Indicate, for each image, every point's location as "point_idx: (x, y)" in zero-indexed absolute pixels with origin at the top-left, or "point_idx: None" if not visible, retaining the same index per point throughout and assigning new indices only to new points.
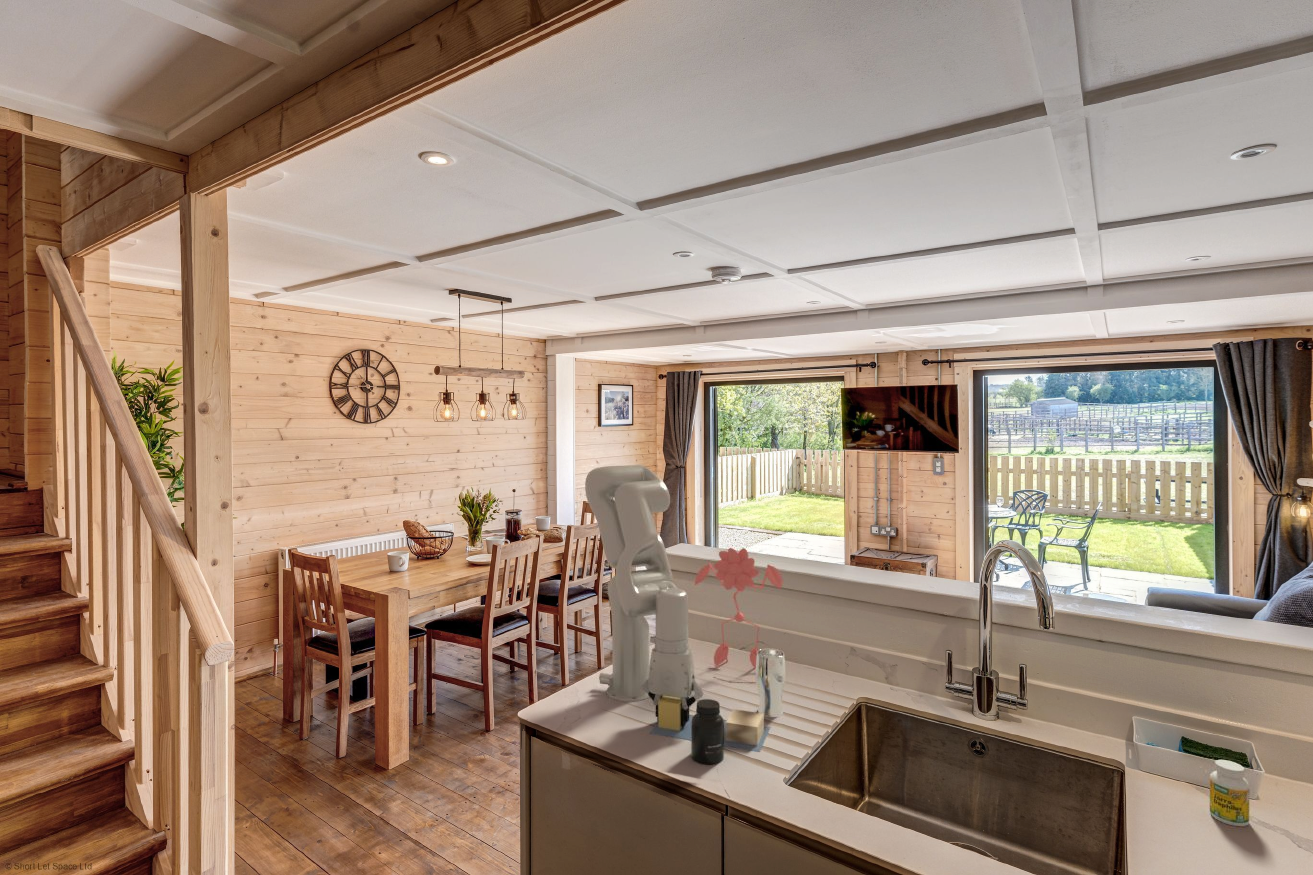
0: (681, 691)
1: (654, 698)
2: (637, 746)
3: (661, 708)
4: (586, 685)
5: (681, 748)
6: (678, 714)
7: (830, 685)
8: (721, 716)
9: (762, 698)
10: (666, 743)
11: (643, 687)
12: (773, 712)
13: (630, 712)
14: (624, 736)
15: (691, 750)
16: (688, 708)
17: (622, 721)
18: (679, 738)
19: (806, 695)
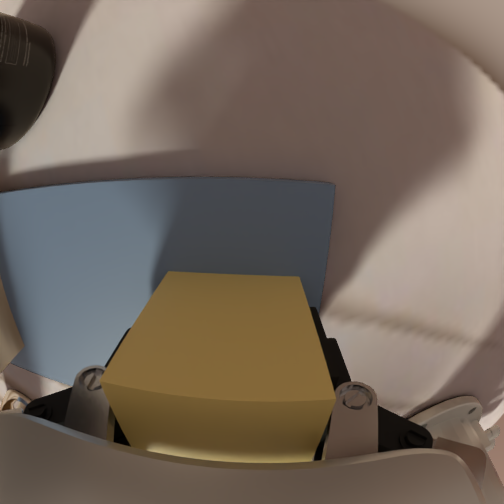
0: (9, 469)
1: (376, 420)
2: (352, 63)
3: (292, 351)
4: (500, 414)
5: (113, 116)
6: (139, 322)
7: None
8: None
9: None
10: (204, 134)
11: (474, 458)
12: (3, 402)
13: (432, 367)
14: (441, 158)
15: (29, 31)
16: None
17: (461, 296)
18: (134, 180)
19: None
